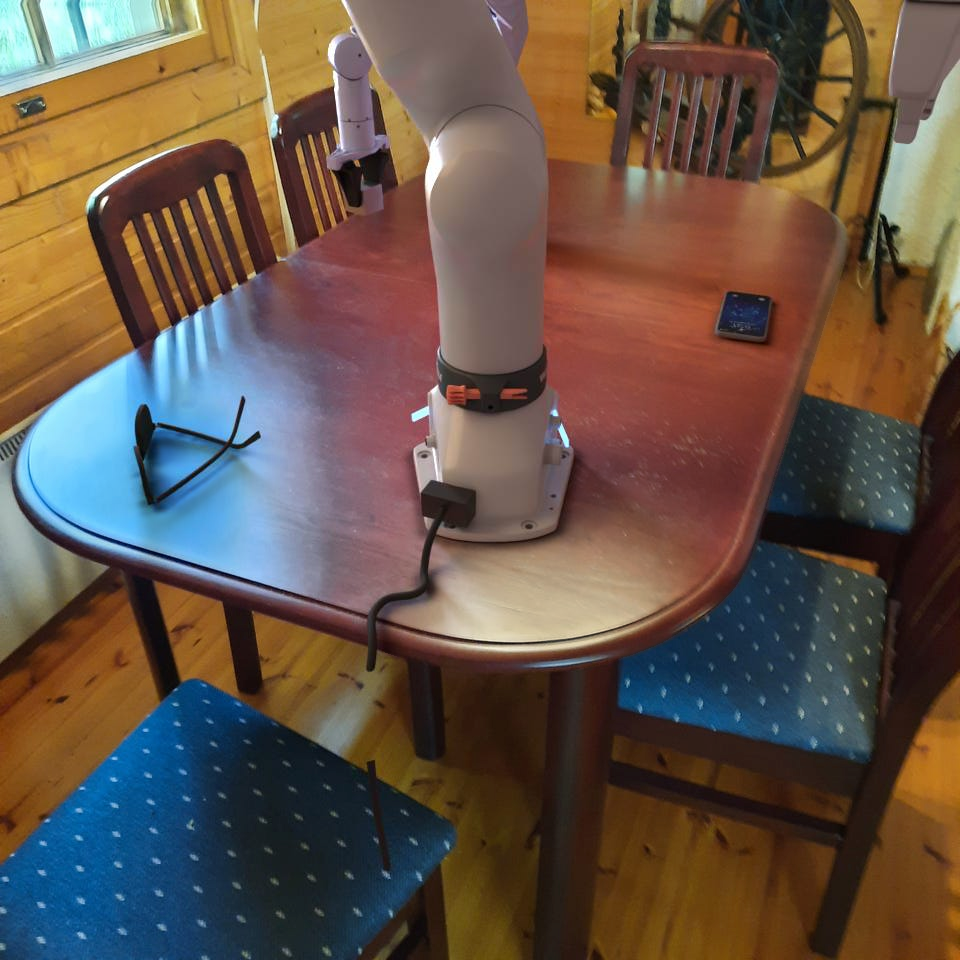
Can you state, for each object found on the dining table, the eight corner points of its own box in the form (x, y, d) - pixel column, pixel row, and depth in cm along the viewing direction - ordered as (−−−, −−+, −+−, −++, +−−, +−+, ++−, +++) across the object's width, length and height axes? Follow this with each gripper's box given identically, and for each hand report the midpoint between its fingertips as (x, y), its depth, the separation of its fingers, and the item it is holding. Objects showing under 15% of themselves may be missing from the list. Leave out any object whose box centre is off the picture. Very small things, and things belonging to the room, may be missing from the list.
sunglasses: (270, 486, 97) (262, 449, 94) (137, 510, 94) (125, 474, 91) (257, 411, 110) (250, 377, 107) (140, 430, 107) (130, 396, 104)
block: (363, 203, 150) (360, 178, 147) (383, 208, 147) (381, 183, 145) (344, 210, 147) (341, 185, 144) (365, 216, 144) (363, 190, 142)
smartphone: (773, 295, 132) (766, 339, 121) (772, 301, 133) (765, 345, 121) (725, 289, 134) (713, 331, 123) (724, 295, 135) (712, 337, 123)
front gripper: (935, -48, 84) (897, 102, 92) (896, -22, 70) (856, 152, 78) (1007, -45, 81) (961, 109, 90) (981, -19, 67) (930, 161, 76)
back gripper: (362, 105, 145) (370, 186, 153) (307, 125, 135) (318, 210, 143) (397, 109, 142) (403, 191, 150) (342, 130, 132) (352, 217, 140)
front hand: (912, 129), depth 84 cm, fingers open, 8 cm apart
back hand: (364, 201), depth 146 cm, fingers closed on block, 5 cm apart
